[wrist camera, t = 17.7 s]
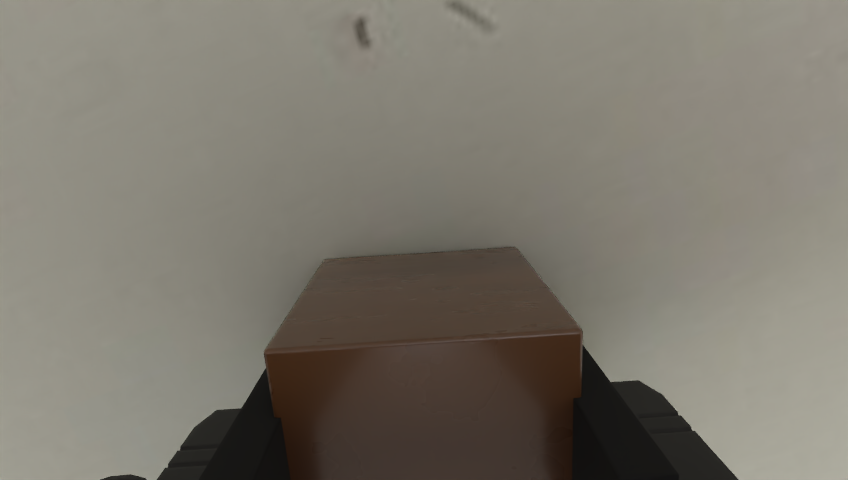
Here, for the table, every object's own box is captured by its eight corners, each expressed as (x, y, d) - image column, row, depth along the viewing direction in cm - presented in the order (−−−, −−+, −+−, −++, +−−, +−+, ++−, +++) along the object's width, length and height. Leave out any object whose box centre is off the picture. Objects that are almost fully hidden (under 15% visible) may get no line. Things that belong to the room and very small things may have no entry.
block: (323, 258, 12) (261, 350, 7) (516, 246, 12) (584, 329, 7) (343, 427, 13) (302, 602, 8) (519, 416, 13) (579, 584, 8)
